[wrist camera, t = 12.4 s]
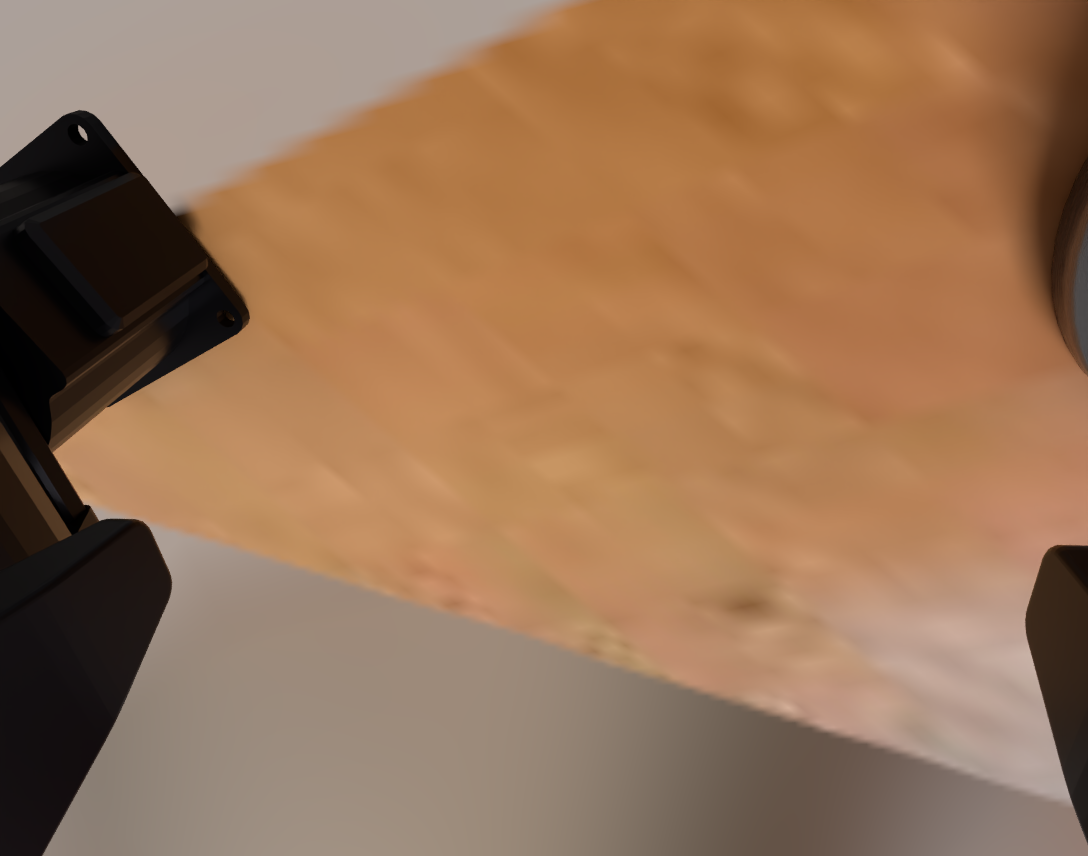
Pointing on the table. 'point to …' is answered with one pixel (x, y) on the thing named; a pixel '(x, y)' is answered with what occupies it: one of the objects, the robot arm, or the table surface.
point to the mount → (1073, 271)
